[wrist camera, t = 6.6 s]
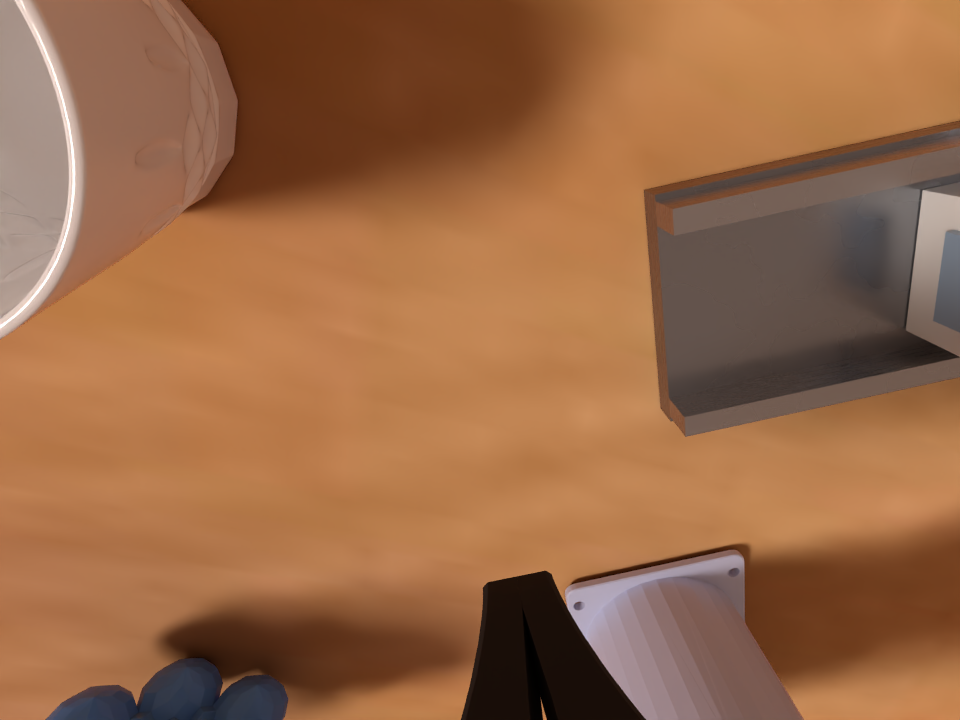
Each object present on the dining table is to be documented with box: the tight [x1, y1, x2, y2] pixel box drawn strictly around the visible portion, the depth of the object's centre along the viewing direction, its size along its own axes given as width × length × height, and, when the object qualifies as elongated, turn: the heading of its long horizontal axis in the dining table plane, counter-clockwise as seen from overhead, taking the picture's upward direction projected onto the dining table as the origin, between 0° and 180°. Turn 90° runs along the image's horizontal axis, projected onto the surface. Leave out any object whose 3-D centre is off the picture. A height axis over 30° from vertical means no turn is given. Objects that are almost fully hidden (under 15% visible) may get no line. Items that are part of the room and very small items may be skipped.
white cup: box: [0, 0, 238, 339], centre depth 12 cm, size 8×8×10 cm
